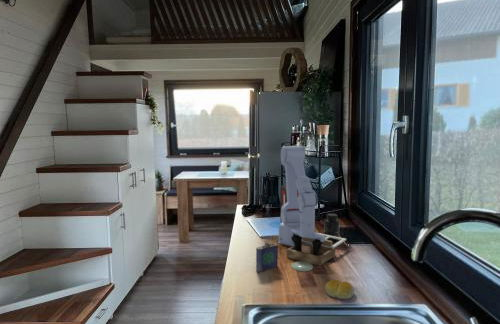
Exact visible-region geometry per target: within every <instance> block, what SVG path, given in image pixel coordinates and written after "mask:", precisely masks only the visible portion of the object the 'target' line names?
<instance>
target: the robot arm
mask: <svg viewBox="0 0 500 324" xmlns="http://www.w3.org/2000/svg"><path fill="white" fill-rule="evenodd" d="M305 157H306V148H305V147H304V145H288V146H287V145H286V146H285V145H283V146H282V147H281V149H280V162H281V163H280V164H281V165H282V166H283V167H284V171H285V174H284V175H285V185H286V192H287V203H286V204H284V205H283V206H282V207H281V221H282V223H281V221H280V224H279V227H278V242H277V244H282V245H286V246H290V247H292V246H294V245H295V248H296V251H300V252H301V242H302V239H303V237H304V238H310V239H314V240H315V241H312V245H313V255H316V256H318V252H319V249H320V246H321V244H322V243H323V241H325V236H323V235H320V234H317V233H318V232H316V233H315V231H316V230H315V229H316V228H315V226H316V225H315V223H316V222H315V221H316V218H315V217H316V214H315V213H316V207H317V205H318V201H319V200H318V195H317V193H316V191H315V189H313V187H312V184H311V180H310V177H308V176H307V175H306V171H305V165H304V161H305ZM297 189H298V193H299V196H298V198H297ZM287 209H296V210H287Z"/></svg>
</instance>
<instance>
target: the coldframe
mask: <svg viewBox="0 0 500 324" xmlns="http://www.w3.org/2000/svg"><path fill="white" fill-rule="evenodd" d="M302 243H306V242H301V251H302ZM335 256H336V247H335V248H334V249H332V248H328V247H324V246H320V249H319V252H318V256H316V255H312V254H308V253H304V252H300V251H296V248H295V245H294V246H290V247H289V248H287V249H286V258H289V259H292V260H298V261H300V262H308V263H311V264H312V265H315V266H316V265H317V266H319V267H321V266H323V264H326V263H327V262H328V261H330V260H331V259H332V258H334V257H335Z"/></svg>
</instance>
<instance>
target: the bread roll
mask: <svg viewBox="0 0 500 324" xmlns="http://www.w3.org/2000/svg"><path fill="white" fill-rule="evenodd" d="M324 288H325V289H324V290H325V293H326V294H327V295H328V296H329V297H331V298H332V297H333V298H334V299H335V298H337V299H340V300H349V299H351V298H352V297H353V296H354V294H355V288H354V286H353V285H352V284H351V283H349V282H348V281H340V280H338V279H331V280H329V281H327V282H326V283H325V286H324Z"/></svg>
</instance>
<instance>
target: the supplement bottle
mask: <svg viewBox="0 0 500 324" xmlns="http://www.w3.org/2000/svg"><path fill="white" fill-rule="evenodd" d="M340 226H341V225H340V221H339V220H338V214H336V213H327V214H326V219H325V220H324V227H323V232H324V233H323V234H325V235H330V236H335V237H340ZM325 238H326V237H325ZM327 240H329V241H332V243H335V242H336V243H337V242H339V241H340V240H339V239H334V238H328V239H327Z"/></svg>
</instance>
